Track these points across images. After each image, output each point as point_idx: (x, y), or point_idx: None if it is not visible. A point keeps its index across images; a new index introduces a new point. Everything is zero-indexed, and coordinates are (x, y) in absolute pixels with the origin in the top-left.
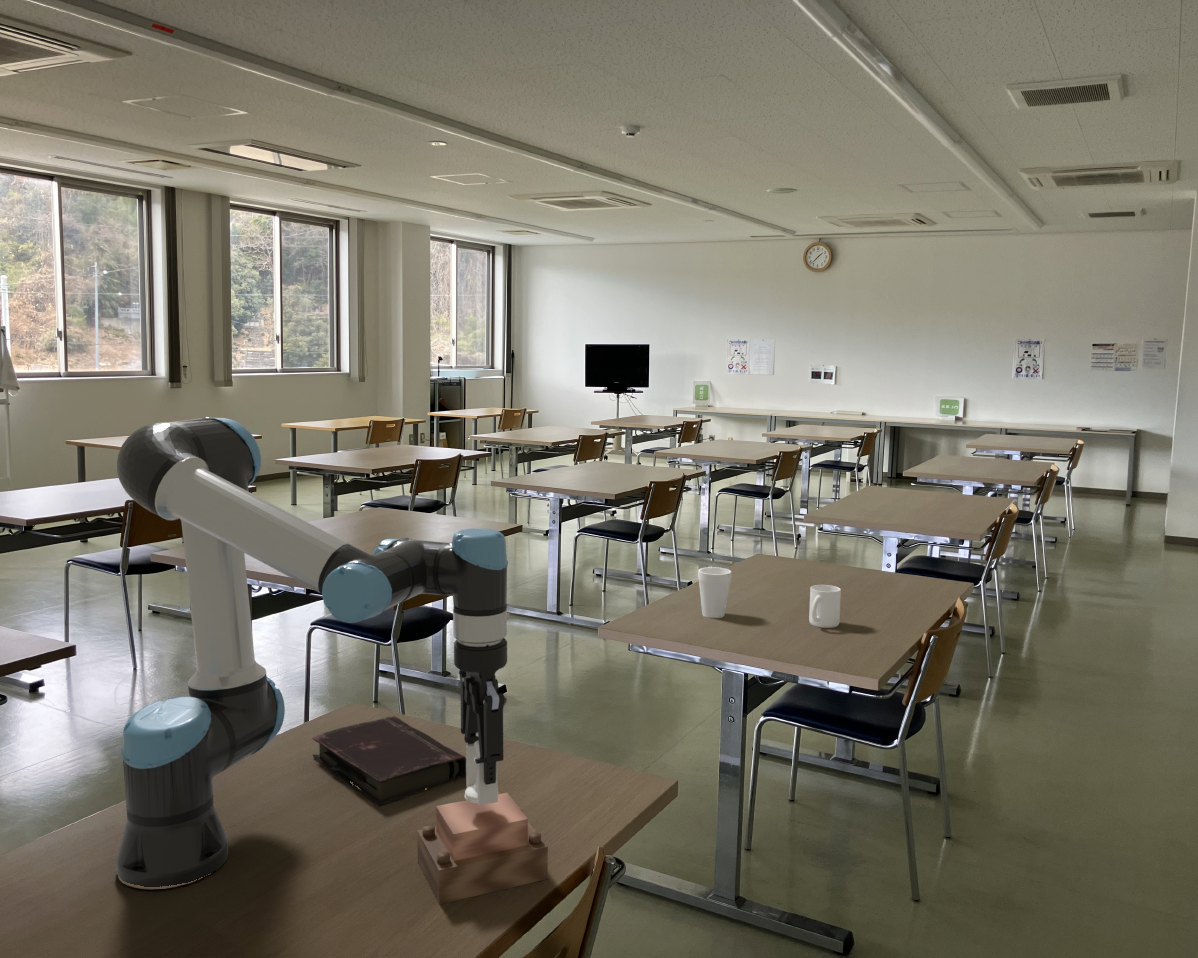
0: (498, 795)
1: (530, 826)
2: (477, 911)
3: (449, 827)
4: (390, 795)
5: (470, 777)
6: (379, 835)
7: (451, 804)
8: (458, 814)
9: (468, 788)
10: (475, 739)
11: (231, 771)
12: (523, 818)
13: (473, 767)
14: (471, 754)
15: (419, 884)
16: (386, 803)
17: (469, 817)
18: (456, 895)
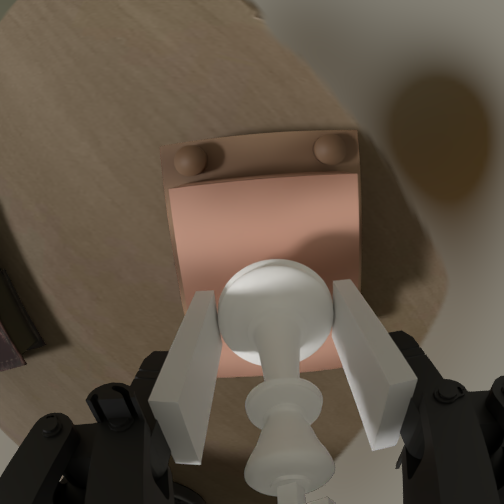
0: (300, 263)
1: (250, 137)
2: (382, 276)
3: (319, 370)
4: (26, 329)
5: (215, 359)
6: (118, 364)
7: None
8: None
9: (252, 358)
10: (158, 449)
11: (8, 429)
12: (349, 184)
13: (208, 372)
14: (201, 420)
15: None
16: (38, 334)
17: None
18: None
